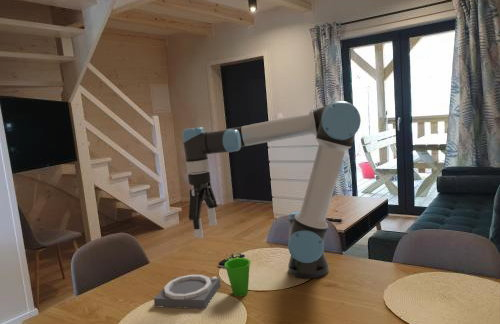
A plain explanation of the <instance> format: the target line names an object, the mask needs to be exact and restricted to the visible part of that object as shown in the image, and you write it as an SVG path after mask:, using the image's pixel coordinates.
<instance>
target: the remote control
mask: <svg viewBox="0 0 500 324" xmlns="http://www.w3.org/2000/svg"><path fill="white" fill-rule="evenodd" d="M245 255H246V254H244V253H239V252H234V253H232V254H230V255H229V256H227V257H226V258H223V260H221V261H219V262H218V267H219V268H223V267H224V268H223V269H226V267H225V266H224V265H225V263H226V262H227V261H228V260H231V259H235V258H244V257H245V258H246V256H245Z"/></svg>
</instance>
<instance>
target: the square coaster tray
mask: <svg viewBox="0 0 500 324" xmlns="http://www.w3.org/2000/svg"><path fill="white" fill-rule="evenodd" d="M220 279H221V278H220V277H217V276H212V277H209V276H206V275H205V274H187V275H183V276H178V277H177V276H176V277H173V278H172V279H171V280H170V281H169V282H167V283H166V285H164V287H163V289H161V291H159V292H158V294H156V296H155V297H154V298H153V302H154V307H155V306H163V307H162V308H170V307H181V308H180V309H196V308H201V309H202V308H203V309H202V310H205V309H206V308H207V307H208V305H209V304H210V302H211V301H212V299H213V298H214V296H215V295H216V293H217V291H219V289H220V287H221V280H220ZM214 294H215V295H214ZM212 297H213V298H212ZM210 300H211V301H210ZM208 303H209V304H208ZM184 307H185V308H184ZM186 307H187V308H186Z"/></svg>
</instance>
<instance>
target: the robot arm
mask: <svg viewBox="0 0 500 324" xmlns="http://www.w3.org/2000/svg"><path fill="white" fill-rule="evenodd" d="M361 121H362V120H361V115H360V112H359V110H358V108H356V106H355V105H354V104H352V103H350V102H349V101H344V100H336V101H333V102H331V103H329V104H327V105H325V106H322V107H319V108H315V109H311V110H310V111H309V112H308V113H304V114H297V115H294V116H289V117H288V116H287V117H283V118H279V119H273V120H269V121H264V122H263V121H262V122H258V123H251V124H249V125H248V124H247V125H243V126H238V127H229V128H226V129H223V130H216V131H208V132H207V131H205V129H204V127H203V126H201V127H199V126H198V127H191V128H185V129H183V130H182V140H183V141H182V144H183V149H184V156H185V163H186V164H185V167H186V168H187V169H186V170H187V171H186V172H187V173H188V174H187V178H188V185H190V186H193V189H190V190H189V207H188V208H189V210H188V211H189V212H188V220H189V221H192V225H193V226H192V227H193V232H194V238H195V239H203V238H204V231H203V225H202V218H201V216H200V215H201V210H202V204H203V202H204V203H205V204H206V206H207V209H206V211H207V218H208V224H209V226H210V227H211V226H212V227H213V226H217V225H218V224H217V215H216V208H217V207H218V205H217V200H216V197H215V194H214V192H213V188H212V183H211V173H210V171H209V170H210V165H209V158H208V155H212V154H223V153H234V152H238V151H240V150H241V148H244V147H248V146H254V145H260V144H265V143H271V142H276V141H280V140H286V139H293V138H297V137H304V136H308V135H309V136H310V135H313V136H314V137H315V140H316V142H317V143H318V147H317V149H316V154H315V158H314V160H313V165H312V168H311V173H310V176H309V180H308V183H307V187H306V191H305V194H304V198H303V202H302V205H301V209H300V210H299V211H298V210H297V211H293V212H290V213H289V215H288V224H289V225H288V226H289V233H288V240H287V248H288V251H289V254H290V256H289V262H288V273H289V275H291V276H292V275H293V277H294V276H295V278H297V279H304V280H305V279H306V280H307V279H309V280H311V279H318V278H322V277H324V276H325V275H327V274H328V272H329V271H330V270H329V268H330V267H329V262H328V260H327V257H326V255H325V253H324V251H325V241H326V237H327V236H326V235H327V232H328V229H329V224H328V223H327V220H326V219H327V215H328V211H329V208H330V205H331V201H332V198H333V194H334V191H335V187H336V184H337V180H338V177H339V174H340V170H341V166H342V163H343V159H344V155H345V152H346V151H347V150H350V149H351V148H352V147H353V146H352V145H353V143H354V139H355V136H356V134H357V132H358V131H359V129H360V127H361V123H362V122H361Z"/></svg>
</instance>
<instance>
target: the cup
mask: <svg viewBox="0 0 500 324" xmlns="http://www.w3.org/2000/svg"><path fill="white" fill-rule="evenodd" d="M250 265H251V260H250V259H248V258H246V257H245V258H235V259H231V260H228V261H227V262H226V263H225V265H224V266H225V267H226V268H225V270H226V271H227V272H226V273H227V276H228V281H229V284H230V288H231V291H232V294H233V295H234V296H235V297H244V296H246V295H247V294H248V292H249V282H250V279H249V278H250Z"/></svg>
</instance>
